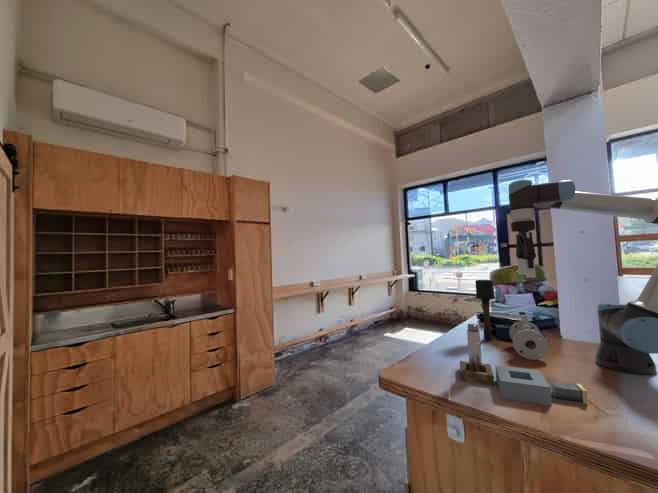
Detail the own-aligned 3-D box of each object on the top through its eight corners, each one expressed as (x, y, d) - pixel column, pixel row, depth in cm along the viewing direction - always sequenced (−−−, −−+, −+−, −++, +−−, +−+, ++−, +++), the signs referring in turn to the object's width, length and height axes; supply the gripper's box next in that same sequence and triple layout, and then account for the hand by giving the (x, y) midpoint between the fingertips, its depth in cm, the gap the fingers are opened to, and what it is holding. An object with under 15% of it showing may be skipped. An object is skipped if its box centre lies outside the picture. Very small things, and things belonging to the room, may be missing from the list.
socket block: (572, 393, 83) (570, 373, 84) (589, 414, 72) (587, 392, 73) (496, 383, 92) (495, 365, 92) (501, 401, 81) (500, 380, 81)
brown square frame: (491, 375, 98) (490, 364, 98) (494, 388, 89) (493, 375, 89) (460, 371, 102) (459, 360, 102) (460, 383, 93) (460, 371, 93)
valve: (550, 362, 107) (547, 323, 107) (514, 357, 113) (511, 321, 113) (539, 345, 126) (537, 312, 127) (509, 342, 132) (506, 311, 132)
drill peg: (482, 375, 96) (479, 324, 97) (483, 379, 93) (479, 326, 93) (469, 373, 98) (466, 323, 99) (469, 377, 94) (466, 325, 95)
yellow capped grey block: (581, 399, 79) (580, 384, 80) (588, 407, 75) (586, 391, 76) (551, 395, 82) (550, 380, 83) (556, 402, 78) (555, 386, 79)
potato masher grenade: (501, 342, 131) (496, 280, 132) (481, 342, 133) (477, 281, 134) (494, 337, 139) (490, 279, 141) (476, 337, 141) (472, 279, 142)
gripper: (505, 224, 117) (509, 273, 116) (517, 218, 95) (521, 279, 94) (526, 222, 114) (530, 273, 113) (543, 216, 91) (548, 279, 91)
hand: (526, 276), depth 103 cm, fingers open, 13 cm apart
